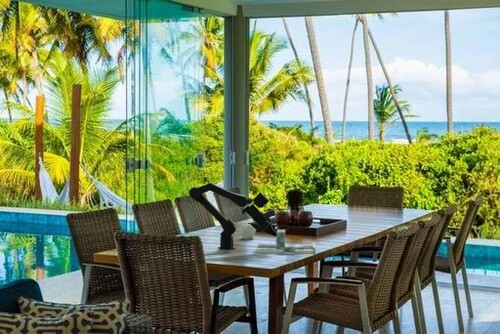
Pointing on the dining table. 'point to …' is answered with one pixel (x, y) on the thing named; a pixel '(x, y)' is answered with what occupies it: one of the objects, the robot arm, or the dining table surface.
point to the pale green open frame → (283, 249)
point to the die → (247, 231)
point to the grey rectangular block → (284, 246)
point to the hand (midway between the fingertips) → (276, 236)
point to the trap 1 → (288, 253)
